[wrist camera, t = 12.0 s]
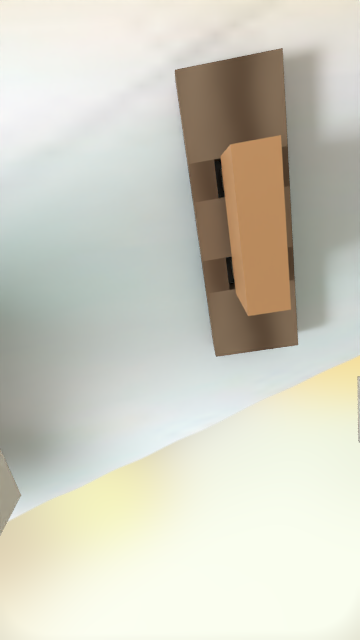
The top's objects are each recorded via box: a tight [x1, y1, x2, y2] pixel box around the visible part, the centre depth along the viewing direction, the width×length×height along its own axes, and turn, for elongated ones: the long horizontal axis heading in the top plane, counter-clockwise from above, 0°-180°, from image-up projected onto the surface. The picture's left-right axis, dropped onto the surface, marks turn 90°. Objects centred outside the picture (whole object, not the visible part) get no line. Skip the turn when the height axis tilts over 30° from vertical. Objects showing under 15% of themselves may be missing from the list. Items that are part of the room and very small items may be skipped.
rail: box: [175, 48, 298, 357], centre depth 30 cm, size 8×24×2 cm, turn 9°
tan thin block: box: [220, 135, 291, 316], centre depth 27 cm, size 3×11×10 cm, turn 10°
